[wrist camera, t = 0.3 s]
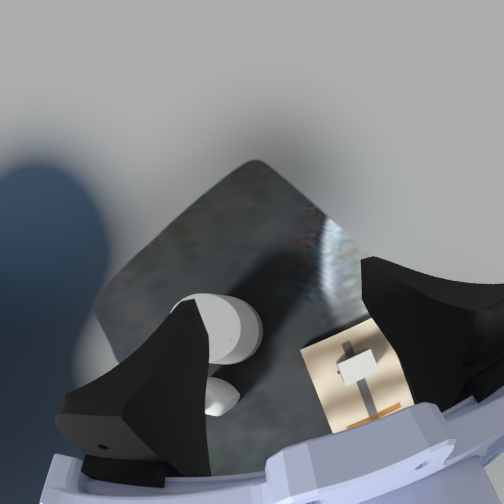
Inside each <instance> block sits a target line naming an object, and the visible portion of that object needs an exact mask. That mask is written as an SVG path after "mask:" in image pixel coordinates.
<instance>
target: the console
mask: <svg viewBox="0 0 504 504" xmlns="http://www.w3.org/2000/svg"><path fill="white" fill-rule="evenodd" d="M364 349H371V351H372V354H373V356H374V359H375V361H376V364H377V367H378V369H379V371H378V372H376V373H373V374H371V375H369V376H367V377H365V378H363V379H361V380H359V381H357V382H354V383H352V384H350V385H348V386H346V385H345V383H344V382H343V379H342V377H341V374H340V372H339V369H338V367H337V364H336V362H338V361H340V360H342V359H345V358H347V357H349V356H351V355H353V354H355V353H358V352H360V351H362V350H364ZM300 351H301V353H302V356H303V358H304V361H305V363H306V366H307V368H308V371H309V373H310V376H311V379H312V381H313V384H314V386H315V389H316V391H317V394H318V396H319V399H320V401H321V404H322V406H323V409H324V411H325V414H326V417H327V419H328V422H329V424H330V427H331V429H332V432H333V433H336V432H340V431H343V430H346V429H350V428H353V427H356V426H359V425H362V424H365V423H368V422H370V421H373V420H376V419H379V418H381V417H384V416H386V415H389V414H391V413H394V412H396V411H399V410H401V409H404V408H406V407H409V406H413V405H414V402H413V399H412V396H411V393H410V390H409V387H408V384H407V381H406V379H405V376H404V373H403V370H402V367H401V365H400V362H399V359H398V357H397V354H396V352H395V351H394V349H393V348H392V346H391V345H390V343H389V342H388V340H387V339H386V338H385V336H384V335H383V333H382V332H381V330H380V329H379V328H378V326H377V325H376V323H375V322H374V320H373V319H372V318H370V319H368V320H366V321H364V322H362V323H360V324H358V325H355V326H353V327H351V328H349V329H347V330H345V331H343V332H340V333H338V334H336V335H334V336H332V337H329V338H327V339H325V340H322V341H320V342H318V343H315V344H313V345H311V346H308V347H306V348H303V349H301V350H300Z"/></svg>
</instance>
